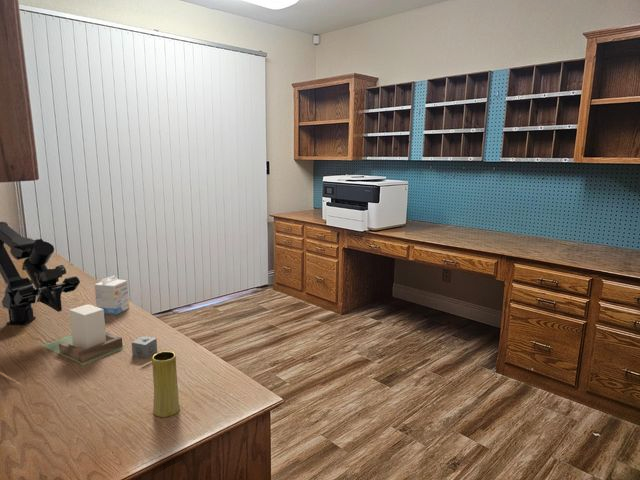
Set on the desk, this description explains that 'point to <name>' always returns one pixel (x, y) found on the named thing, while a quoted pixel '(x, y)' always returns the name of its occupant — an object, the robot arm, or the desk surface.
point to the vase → (165, 384)
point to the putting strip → (55, 344)
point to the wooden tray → (93, 352)
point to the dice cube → (144, 347)
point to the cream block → (87, 326)
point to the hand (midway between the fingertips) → (60, 310)
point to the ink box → (112, 295)
